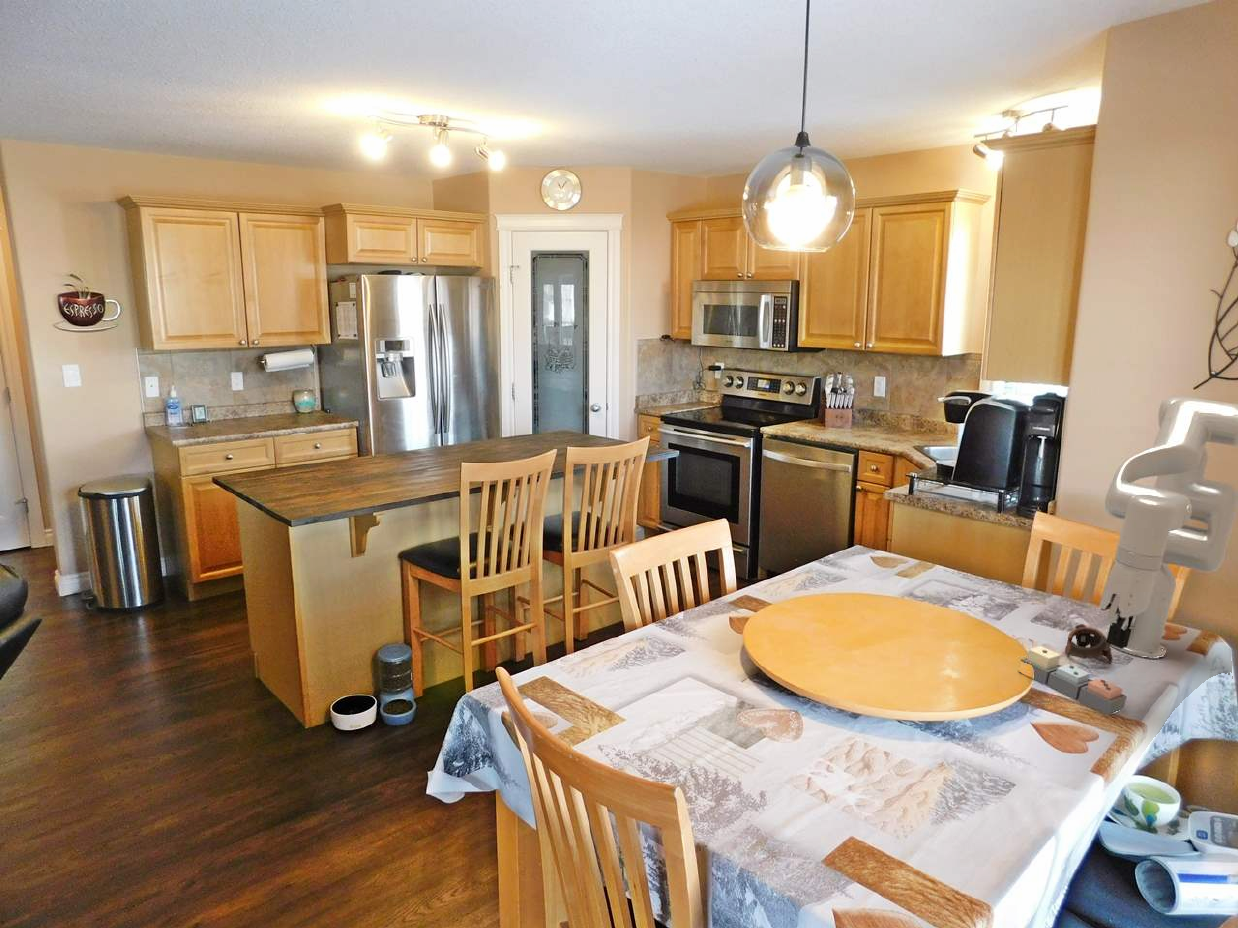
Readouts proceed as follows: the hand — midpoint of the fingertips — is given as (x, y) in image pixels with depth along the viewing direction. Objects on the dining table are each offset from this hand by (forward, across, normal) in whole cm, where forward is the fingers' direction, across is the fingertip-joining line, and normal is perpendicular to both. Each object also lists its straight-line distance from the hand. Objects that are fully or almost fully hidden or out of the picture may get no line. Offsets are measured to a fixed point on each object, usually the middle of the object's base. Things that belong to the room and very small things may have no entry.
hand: (1116, 644), depth 160 cm
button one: (+12, +1, -13) cm, 17 cm away
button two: (+13, +1, -6) cm, 14 cm away
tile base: (+13, +1, 0) cm, 13 cm away
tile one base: (+13, +1, -13) cm, 18 cm away
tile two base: (+13, +1, -6) cm, 15 cm away
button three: (+13, +1, 0) cm, 13 cm away
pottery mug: (+14, -19, -14) cm, 28 cm away
